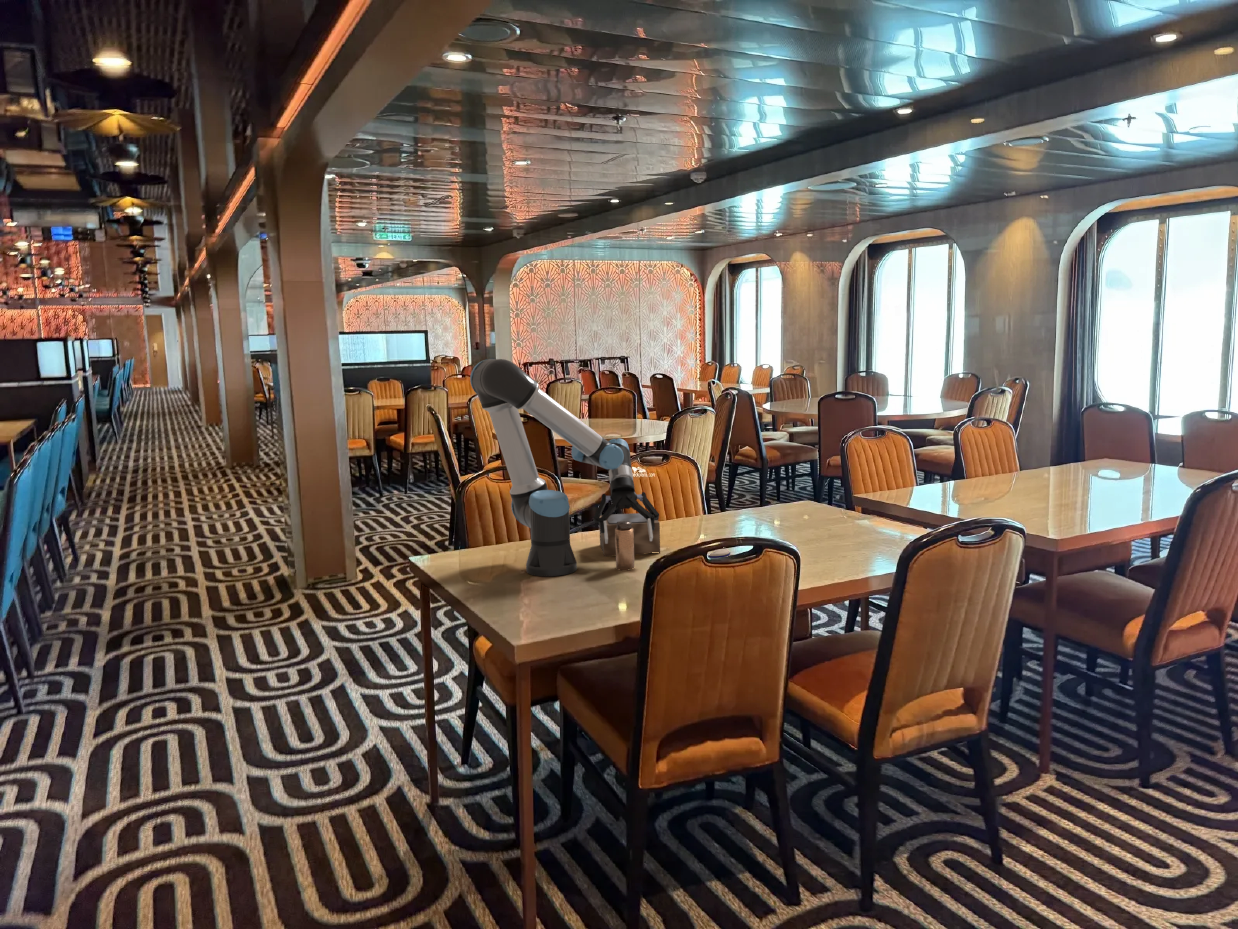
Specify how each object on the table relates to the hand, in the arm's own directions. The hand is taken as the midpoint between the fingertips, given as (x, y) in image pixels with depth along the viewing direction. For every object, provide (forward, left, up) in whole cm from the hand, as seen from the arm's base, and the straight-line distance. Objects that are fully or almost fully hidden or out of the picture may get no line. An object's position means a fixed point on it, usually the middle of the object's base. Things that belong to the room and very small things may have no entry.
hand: (629, 540), depth 261 cm
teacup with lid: (+22, -22, -8) cm, 33 cm away
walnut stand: (+2, +22, -8) cm, 23 cm away
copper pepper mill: (-2, -2, -8) cm, 8 cm away
